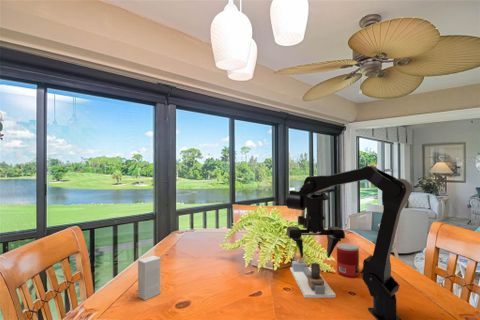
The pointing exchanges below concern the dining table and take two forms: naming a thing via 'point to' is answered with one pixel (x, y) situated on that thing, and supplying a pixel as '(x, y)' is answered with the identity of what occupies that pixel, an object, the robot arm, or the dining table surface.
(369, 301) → the dining table surface
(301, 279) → the plate
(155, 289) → the skincare box
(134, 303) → the dining table surface
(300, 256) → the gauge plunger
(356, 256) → the canned food
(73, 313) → the dining table surface
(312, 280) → the carriage
